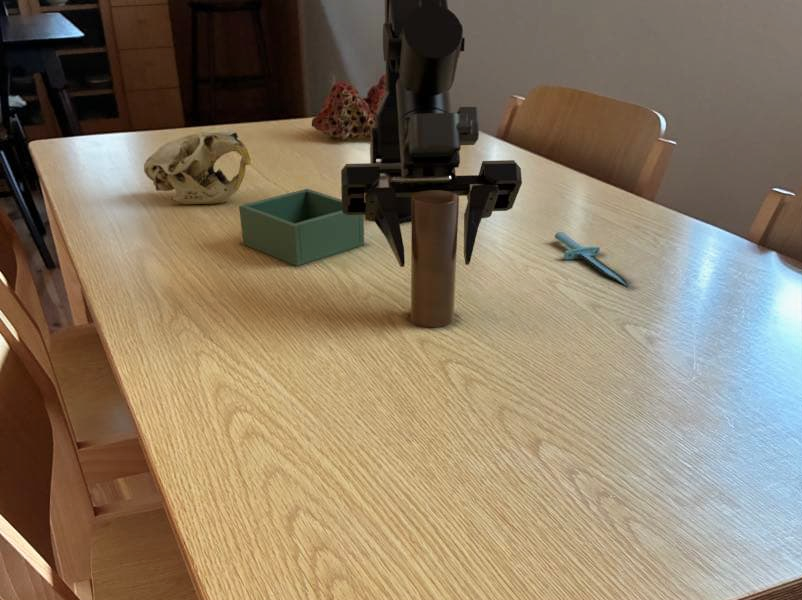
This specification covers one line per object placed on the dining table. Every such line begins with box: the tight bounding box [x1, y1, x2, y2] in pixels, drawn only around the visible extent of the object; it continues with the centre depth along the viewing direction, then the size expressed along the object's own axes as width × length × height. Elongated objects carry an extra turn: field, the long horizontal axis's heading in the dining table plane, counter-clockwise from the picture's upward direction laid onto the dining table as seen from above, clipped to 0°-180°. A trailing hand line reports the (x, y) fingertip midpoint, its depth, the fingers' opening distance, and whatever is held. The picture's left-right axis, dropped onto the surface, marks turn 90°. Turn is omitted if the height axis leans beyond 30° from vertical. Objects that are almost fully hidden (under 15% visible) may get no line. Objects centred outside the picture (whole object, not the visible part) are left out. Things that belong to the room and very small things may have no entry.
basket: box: [238, 188, 365, 267], centre depth 107 cm, size 12×12×5 cm
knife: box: [554, 231, 629, 288], centre depth 103 cm, size 17×1×5 cm
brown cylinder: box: [410, 190, 460, 328], centre depth 86 cm, size 5×5×13 cm
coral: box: [311, 73, 386, 141], centre depth 155 cm, size 18×13×15 cm
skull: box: [143, 129, 251, 205], centre depth 121 cm, size 10×16×10 cm, turn 78°
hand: (435, 264), depth 85 cm, fingers open, 7 cm apart
